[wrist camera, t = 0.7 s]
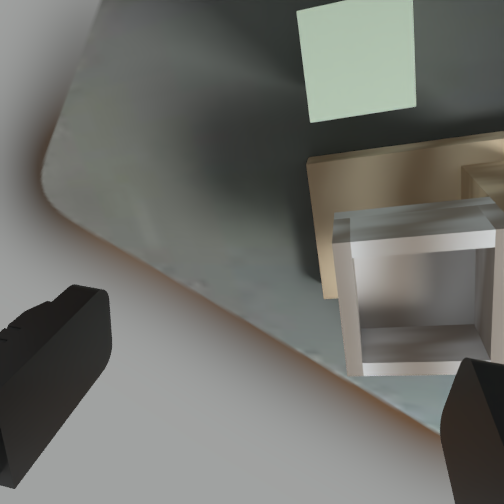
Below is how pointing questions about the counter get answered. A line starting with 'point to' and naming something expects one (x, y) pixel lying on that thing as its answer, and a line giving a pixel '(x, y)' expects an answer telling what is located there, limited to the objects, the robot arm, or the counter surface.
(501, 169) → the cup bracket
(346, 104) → the rail post
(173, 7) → the counter surface
